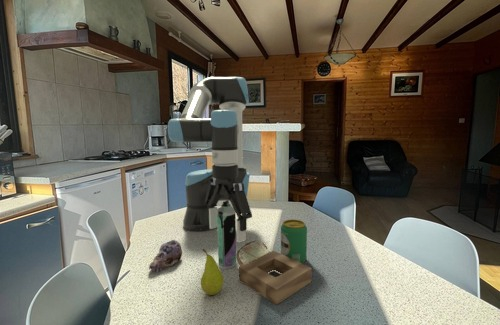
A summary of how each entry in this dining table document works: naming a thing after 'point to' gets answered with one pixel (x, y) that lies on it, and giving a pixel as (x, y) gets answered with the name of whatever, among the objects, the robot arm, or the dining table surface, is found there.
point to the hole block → (272, 287)
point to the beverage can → (294, 240)
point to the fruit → (211, 277)
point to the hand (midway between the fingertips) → (226, 234)
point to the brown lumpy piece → (167, 255)
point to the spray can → (226, 236)
